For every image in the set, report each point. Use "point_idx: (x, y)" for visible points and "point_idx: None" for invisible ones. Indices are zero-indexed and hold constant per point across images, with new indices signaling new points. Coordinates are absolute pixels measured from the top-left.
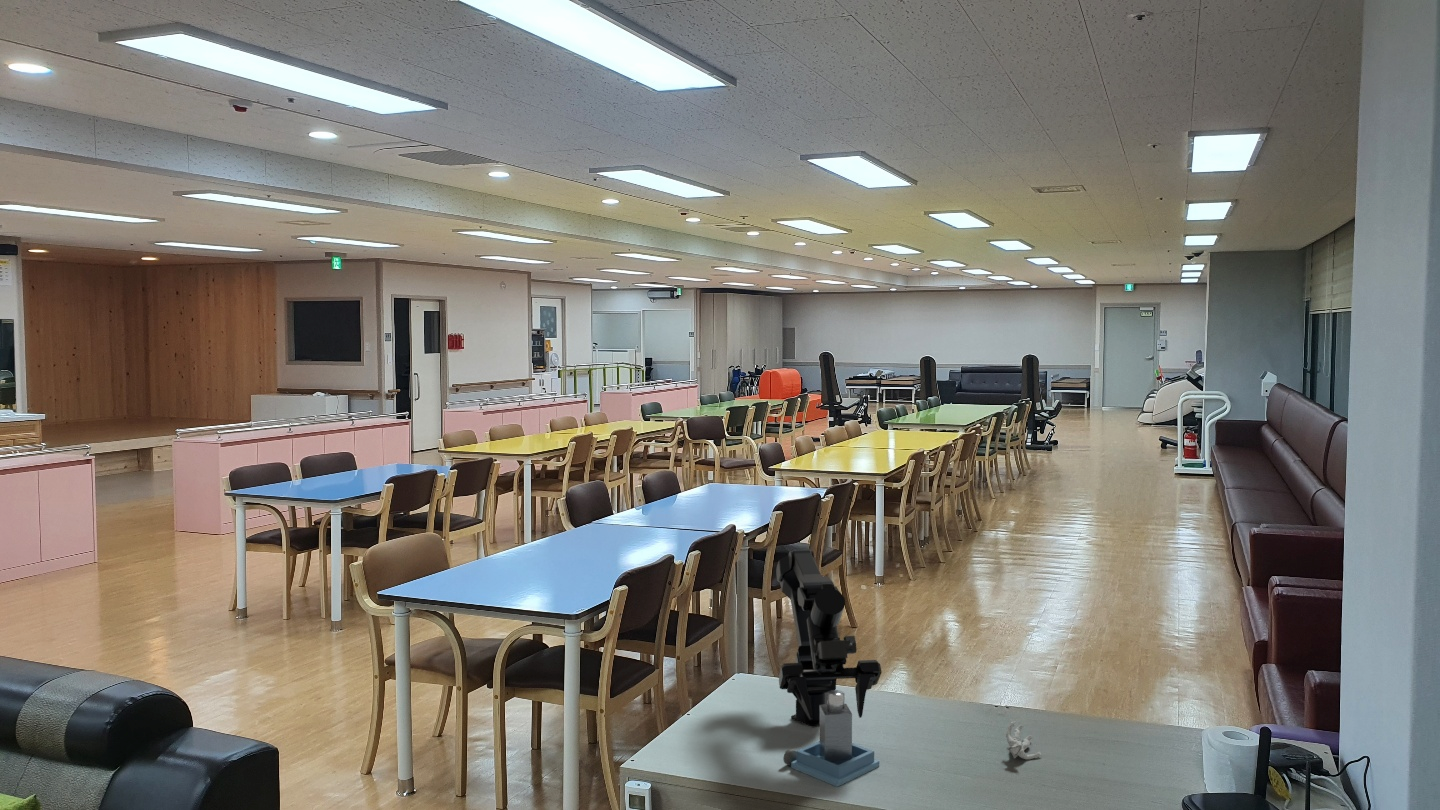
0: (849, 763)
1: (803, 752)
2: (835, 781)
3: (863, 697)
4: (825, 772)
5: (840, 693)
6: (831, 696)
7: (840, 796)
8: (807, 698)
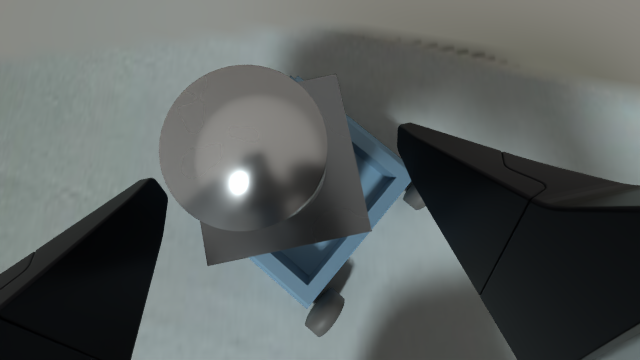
0: None
1: (393, 167)
2: (302, 79)
3: (47, 244)
4: None
5: (197, 146)
6: (284, 76)
7: (292, 38)
8: (478, 160)
